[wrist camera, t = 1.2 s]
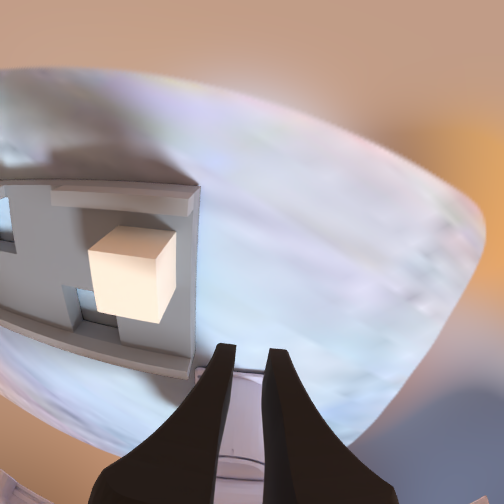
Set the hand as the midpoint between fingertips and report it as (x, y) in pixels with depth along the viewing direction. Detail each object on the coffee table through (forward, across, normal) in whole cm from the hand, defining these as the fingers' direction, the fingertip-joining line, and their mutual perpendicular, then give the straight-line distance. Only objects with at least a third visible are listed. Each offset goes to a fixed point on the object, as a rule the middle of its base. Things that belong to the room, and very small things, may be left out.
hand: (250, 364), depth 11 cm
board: (+10, +18, +3) cm, 21 cm away
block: (+8, +7, 0) cm, 11 cm away
